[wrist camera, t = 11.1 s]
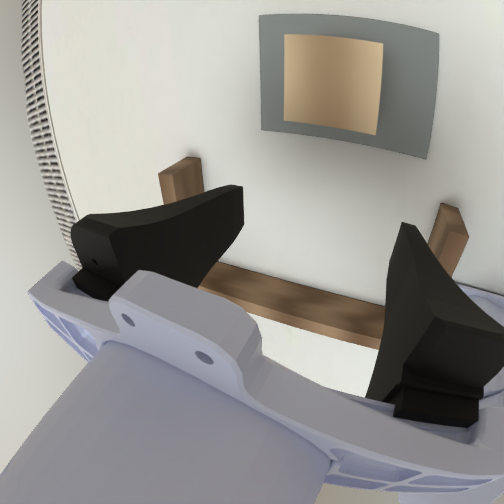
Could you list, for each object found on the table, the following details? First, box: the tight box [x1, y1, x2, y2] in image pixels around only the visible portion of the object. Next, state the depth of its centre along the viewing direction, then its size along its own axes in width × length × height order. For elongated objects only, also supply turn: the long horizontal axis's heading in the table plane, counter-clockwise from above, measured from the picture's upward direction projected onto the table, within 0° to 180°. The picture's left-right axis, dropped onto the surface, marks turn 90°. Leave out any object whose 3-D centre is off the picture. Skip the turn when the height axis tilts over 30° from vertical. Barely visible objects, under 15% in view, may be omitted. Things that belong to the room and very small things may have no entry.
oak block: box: [284, 34, 383, 135], centre depth 13 cm, size 4×4×6 cm
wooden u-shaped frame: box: [158, 157, 469, 350], centre depth 23 cm, size 23×13×4 cm, turn 92°
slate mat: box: [259, 14, 439, 159], centre depth 15 cm, size 12×9×1 cm
